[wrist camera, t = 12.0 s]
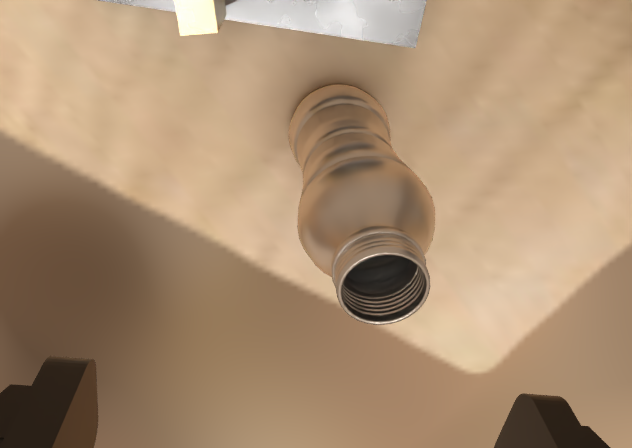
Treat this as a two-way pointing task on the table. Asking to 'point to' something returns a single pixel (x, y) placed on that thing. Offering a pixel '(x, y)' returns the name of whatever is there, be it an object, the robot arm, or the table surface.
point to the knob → (200, 16)
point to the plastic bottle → (361, 206)
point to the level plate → (325, 16)
